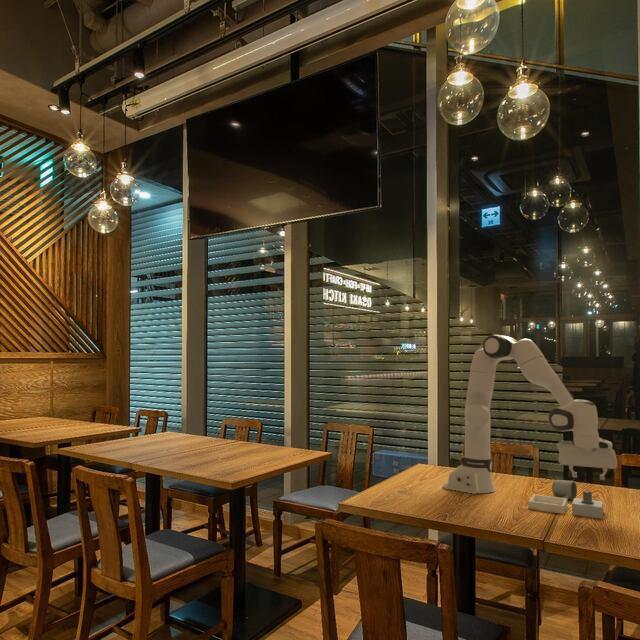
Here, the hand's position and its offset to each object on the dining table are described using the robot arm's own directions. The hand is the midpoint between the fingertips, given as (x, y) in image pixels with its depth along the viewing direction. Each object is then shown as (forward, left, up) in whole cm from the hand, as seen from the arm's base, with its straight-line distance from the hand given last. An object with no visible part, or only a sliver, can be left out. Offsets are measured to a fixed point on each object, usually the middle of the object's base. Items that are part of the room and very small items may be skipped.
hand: (588, 478), depth 199 cm
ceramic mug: (-11, +18, -13) cm, 25 cm away
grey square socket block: (0, 0, -13) cm, 13 cm away
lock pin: (0, 0, -13) cm, 13 cm away
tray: (-14, 0, -13) cm, 19 cm away
